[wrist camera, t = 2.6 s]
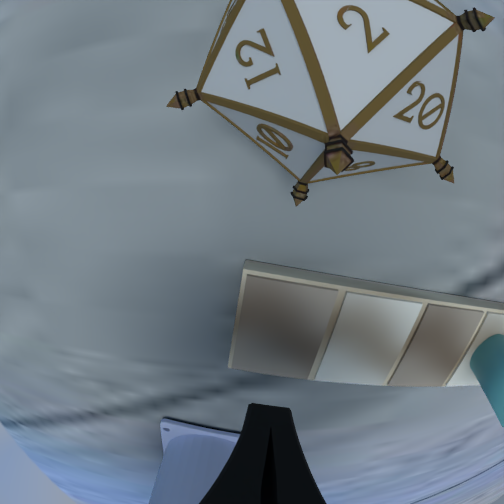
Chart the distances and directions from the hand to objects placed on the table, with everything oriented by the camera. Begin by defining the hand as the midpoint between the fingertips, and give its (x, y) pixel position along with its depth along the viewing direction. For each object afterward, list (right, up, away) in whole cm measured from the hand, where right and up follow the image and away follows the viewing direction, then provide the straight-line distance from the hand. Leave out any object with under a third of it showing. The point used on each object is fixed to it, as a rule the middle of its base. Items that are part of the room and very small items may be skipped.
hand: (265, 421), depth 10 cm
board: (+8, +1, +6) cm, 10 cm away
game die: (+2, +13, +2) cm, 13 cm away
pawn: (+14, 0, +5) cm, 15 cm away
